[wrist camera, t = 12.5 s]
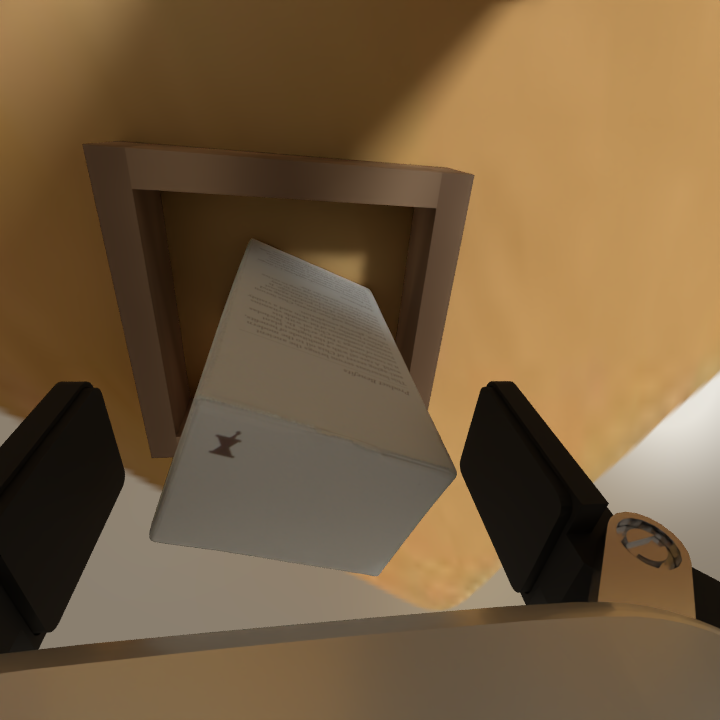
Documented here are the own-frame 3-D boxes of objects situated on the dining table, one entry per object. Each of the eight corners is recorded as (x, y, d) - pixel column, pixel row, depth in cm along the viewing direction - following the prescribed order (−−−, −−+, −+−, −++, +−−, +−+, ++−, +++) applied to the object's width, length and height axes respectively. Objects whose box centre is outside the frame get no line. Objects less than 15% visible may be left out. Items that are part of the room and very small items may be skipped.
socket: (447, 167, 17) (474, 175, 15) (406, 413, 23) (419, 448, 21) (118, 140, 15) (82, 144, 13) (168, 417, 21) (151, 458, 19)
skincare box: (220, 319, 19) (134, 544, 9) (251, 234, 17) (190, 390, 7) (337, 361, 21) (379, 584, 11) (375, 288, 19) (467, 471, 9)
